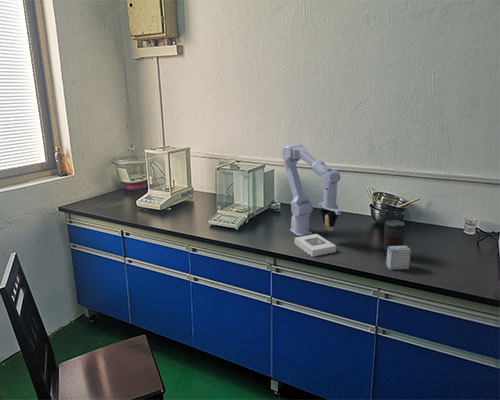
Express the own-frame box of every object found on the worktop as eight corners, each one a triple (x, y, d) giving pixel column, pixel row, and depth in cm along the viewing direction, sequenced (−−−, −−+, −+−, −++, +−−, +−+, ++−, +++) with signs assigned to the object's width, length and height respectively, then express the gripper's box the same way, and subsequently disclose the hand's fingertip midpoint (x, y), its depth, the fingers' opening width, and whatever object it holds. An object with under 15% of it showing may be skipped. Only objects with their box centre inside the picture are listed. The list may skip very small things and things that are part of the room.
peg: (322, 228, 187) (323, 214, 185) (329, 227, 189) (330, 213, 187) (328, 231, 184) (328, 216, 182) (335, 229, 186) (336, 215, 184)
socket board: (294, 243, 188) (294, 237, 187) (316, 239, 192) (316, 233, 191) (312, 256, 174) (312, 249, 173) (335, 252, 178) (336, 245, 177)
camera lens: (378, 253, 176) (380, 221, 172) (393, 250, 179) (396, 218, 175) (390, 260, 169) (393, 227, 165) (405, 257, 172) (409, 224, 167)
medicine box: (404, 264, 165) (406, 245, 163) (409, 269, 161) (411, 249, 158) (385, 265, 165) (387, 245, 162) (389, 270, 161) (391, 250, 158)
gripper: (347, 199, 177) (345, 228, 181) (328, 191, 190) (327, 219, 194) (333, 201, 174) (332, 231, 178) (315, 193, 187) (314, 221, 191)
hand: (328, 225), depth 186 cm, fingers closed on peg, 4 cm apart
